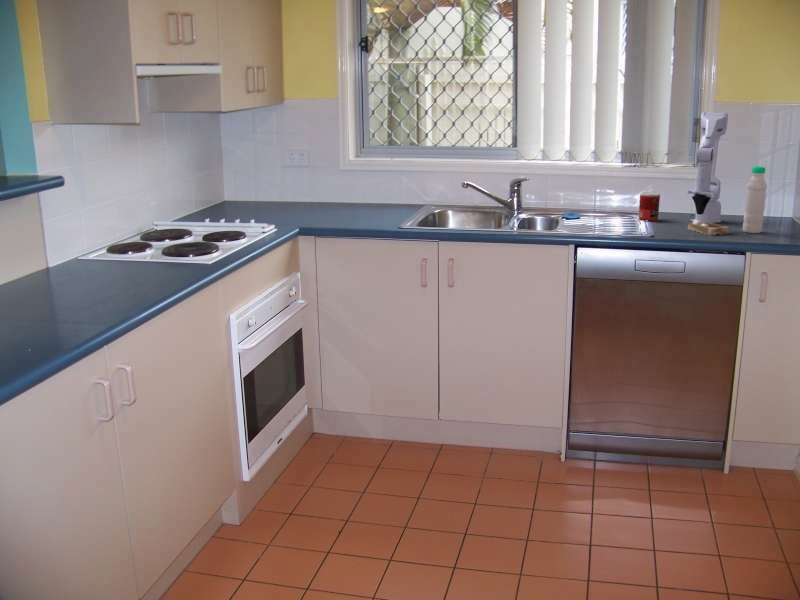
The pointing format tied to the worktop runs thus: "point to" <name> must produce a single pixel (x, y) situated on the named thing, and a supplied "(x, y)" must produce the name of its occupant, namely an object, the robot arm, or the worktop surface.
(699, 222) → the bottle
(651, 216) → the canned food
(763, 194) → the water bottle
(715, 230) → the cradle
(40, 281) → the worktop surface
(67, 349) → the worktop surface
